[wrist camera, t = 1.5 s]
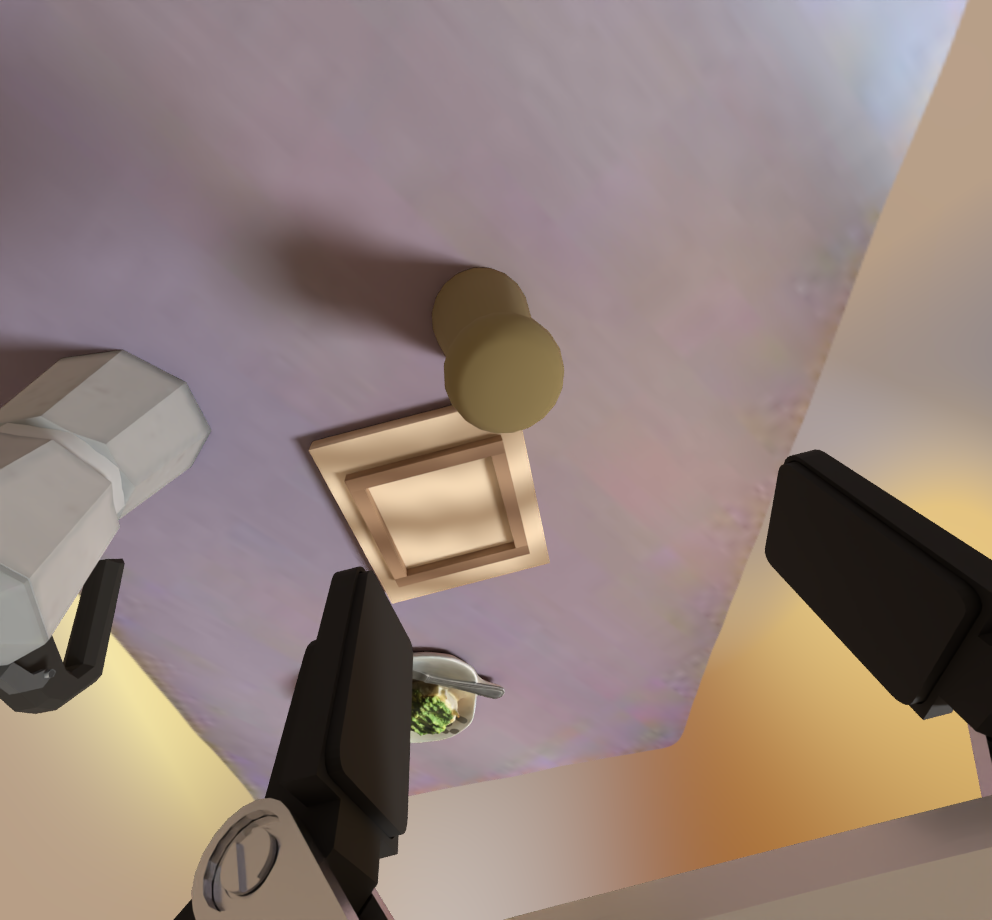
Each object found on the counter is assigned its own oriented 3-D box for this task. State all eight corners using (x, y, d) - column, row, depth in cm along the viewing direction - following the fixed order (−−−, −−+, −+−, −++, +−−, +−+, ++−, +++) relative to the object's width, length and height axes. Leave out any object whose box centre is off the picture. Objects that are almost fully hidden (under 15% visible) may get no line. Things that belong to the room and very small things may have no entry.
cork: (412, 298, 25) (404, 360, 16) (504, 247, 24) (551, 282, 15) (460, 383, 28) (477, 476, 19) (543, 340, 28) (602, 416, 18)
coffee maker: (-21, 324, 23) (-880, 583, 8) (149, 301, 23) (-346, 504, 8) (135, 531, 31) (-141, 855, 16) (259, 511, 32) (106, 806, 16)
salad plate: (510, 630, 44) (518, 673, 40) (493, 723, 53) (498, 765, 49) (309, 640, 40) (296, 688, 36) (328, 738, 50) (320, 784, 46)
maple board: (312, 441, 29) (305, 456, 27) (512, 389, 29) (517, 402, 27) (393, 592, 38) (391, 611, 36) (546, 552, 38) (552, 569, 36)
